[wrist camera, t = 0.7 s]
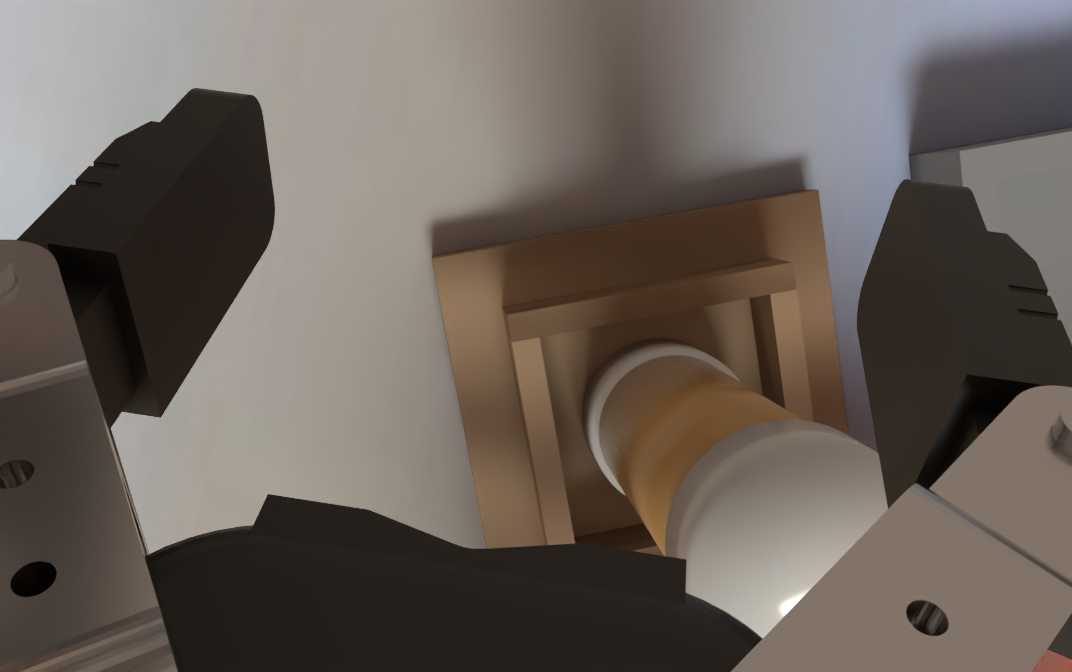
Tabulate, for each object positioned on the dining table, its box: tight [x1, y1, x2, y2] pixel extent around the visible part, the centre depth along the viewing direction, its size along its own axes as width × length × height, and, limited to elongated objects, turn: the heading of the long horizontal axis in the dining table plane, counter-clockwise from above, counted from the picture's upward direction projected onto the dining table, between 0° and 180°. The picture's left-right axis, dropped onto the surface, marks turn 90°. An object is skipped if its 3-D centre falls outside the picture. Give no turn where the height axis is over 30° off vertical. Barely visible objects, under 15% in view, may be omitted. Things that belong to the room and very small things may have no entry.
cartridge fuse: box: [582, 338, 888, 638], centre depth 24 cm, size 5×5×13 cm
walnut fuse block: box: [432, 190, 849, 556], centre depth 30 cm, size 12×12×3 cm
